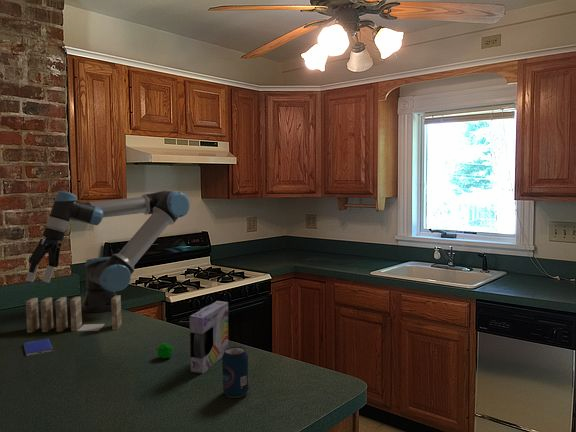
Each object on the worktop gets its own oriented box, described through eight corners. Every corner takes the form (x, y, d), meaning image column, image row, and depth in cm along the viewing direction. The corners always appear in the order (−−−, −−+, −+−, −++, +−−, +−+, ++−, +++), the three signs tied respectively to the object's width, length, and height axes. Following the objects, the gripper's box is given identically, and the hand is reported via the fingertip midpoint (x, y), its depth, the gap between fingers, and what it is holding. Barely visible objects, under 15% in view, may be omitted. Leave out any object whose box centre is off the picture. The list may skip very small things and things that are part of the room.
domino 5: (121, 324, 200) (120, 295, 199) (117, 329, 194) (116, 298, 193) (116, 324, 200) (115, 295, 199) (112, 329, 194) (111, 299, 193)
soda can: (217, 393, 136) (216, 350, 135) (237, 385, 140) (237, 343, 139) (233, 401, 131) (232, 356, 130) (254, 392, 136) (253, 349, 135)
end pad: (104, 324, 201) (104, 323, 201) (98, 330, 193) (98, 329, 193) (84, 325, 200) (84, 324, 200) (77, 331, 192) (77, 330, 192)
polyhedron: (175, 355, 165) (175, 341, 164) (168, 361, 160) (167, 346, 159) (162, 354, 166) (161, 340, 166) (154, 359, 161) (153, 345, 161)
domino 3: (67, 326, 199) (66, 296, 198) (62, 331, 193) (60, 300, 192) (62, 326, 199) (61, 297, 198) (56, 331, 193) (55, 300, 192)
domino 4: (82, 326, 199) (80, 296, 198) (76, 330, 193) (75, 300, 192) (76, 326, 199) (75, 296, 198) (71, 330, 193) (69, 300, 192)
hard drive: (23, 342, 177) (26, 353, 166) (49, 338, 181) (53, 348, 171) (23, 347, 177) (26, 357, 167) (49, 342, 181) (53, 352, 171)
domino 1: (39, 327, 198) (37, 297, 197) (32, 332, 192) (30, 301, 191) (34, 327, 198) (32, 297, 197) (27, 332, 192) (25, 301, 191)
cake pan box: (202, 375, 148) (200, 317, 147) (187, 373, 150) (185, 315, 148) (230, 353, 166) (229, 301, 165) (216, 351, 168) (215, 300, 166)
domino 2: (53, 327, 198) (52, 297, 197) (47, 331, 192) (45, 301, 191) (48, 327, 198) (46, 297, 197) (42, 331, 192) (40, 301, 191)
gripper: (59, 230, 211) (43, 280, 208) (31, 222, 186) (11, 278, 183) (76, 235, 211) (60, 284, 208) (50, 227, 186) (31, 283, 183)
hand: (37, 281), depth 195 cm, fingers open, 13 cm apart
